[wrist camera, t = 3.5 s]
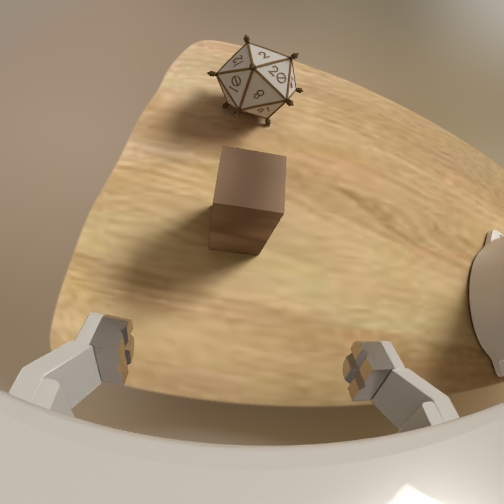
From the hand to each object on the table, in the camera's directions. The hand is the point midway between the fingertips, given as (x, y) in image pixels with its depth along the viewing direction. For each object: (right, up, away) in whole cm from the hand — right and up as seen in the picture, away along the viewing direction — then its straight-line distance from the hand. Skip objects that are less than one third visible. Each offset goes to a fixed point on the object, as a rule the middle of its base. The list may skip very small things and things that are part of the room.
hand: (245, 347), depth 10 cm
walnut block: (-1, +5, +15) cm, 16 cm away
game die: (0, +18, +19) cm, 27 cm away
